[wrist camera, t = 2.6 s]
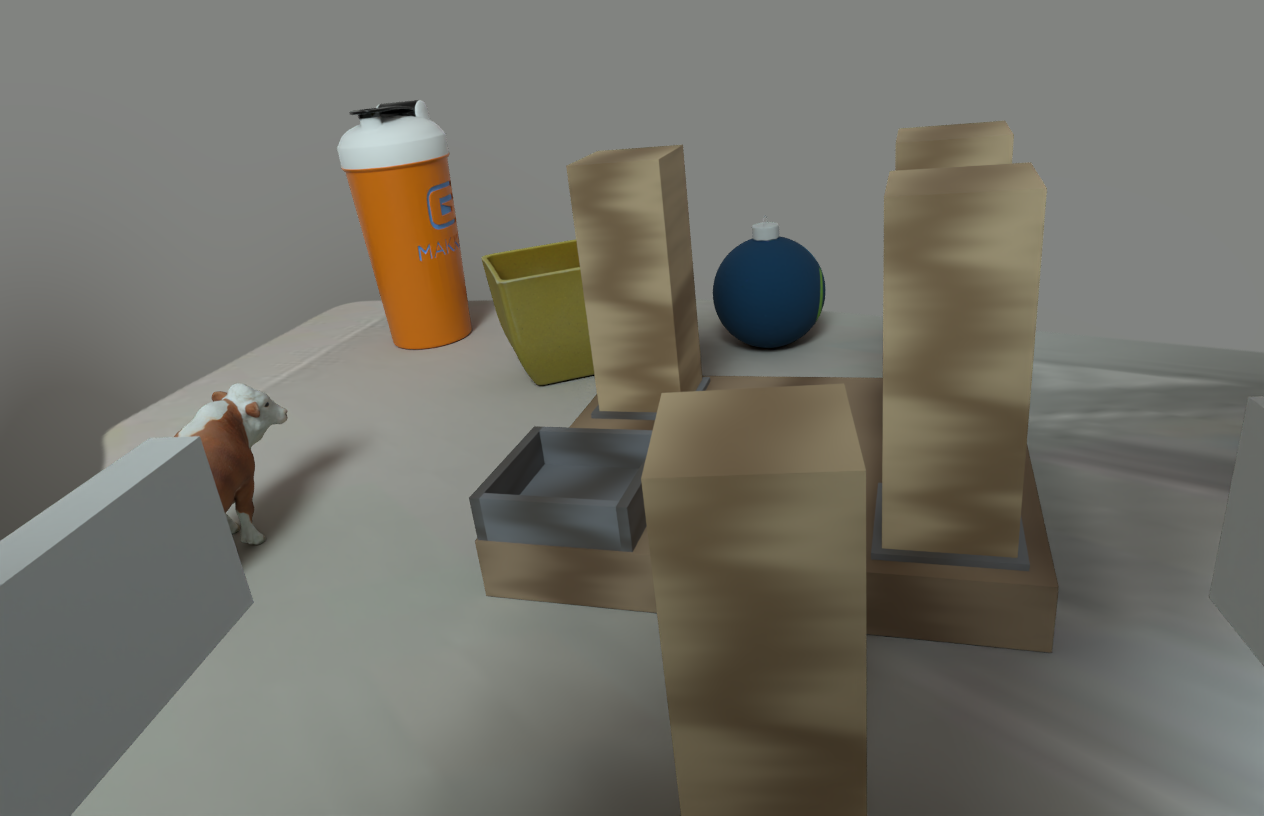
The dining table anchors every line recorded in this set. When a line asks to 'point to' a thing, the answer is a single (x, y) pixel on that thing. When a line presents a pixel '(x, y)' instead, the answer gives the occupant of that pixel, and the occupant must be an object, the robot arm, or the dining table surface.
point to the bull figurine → (235, 447)
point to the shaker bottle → (408, 221)
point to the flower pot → (543, 309)
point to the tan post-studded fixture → (881, 407)
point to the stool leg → (761, 598)
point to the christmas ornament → (769, 289)
